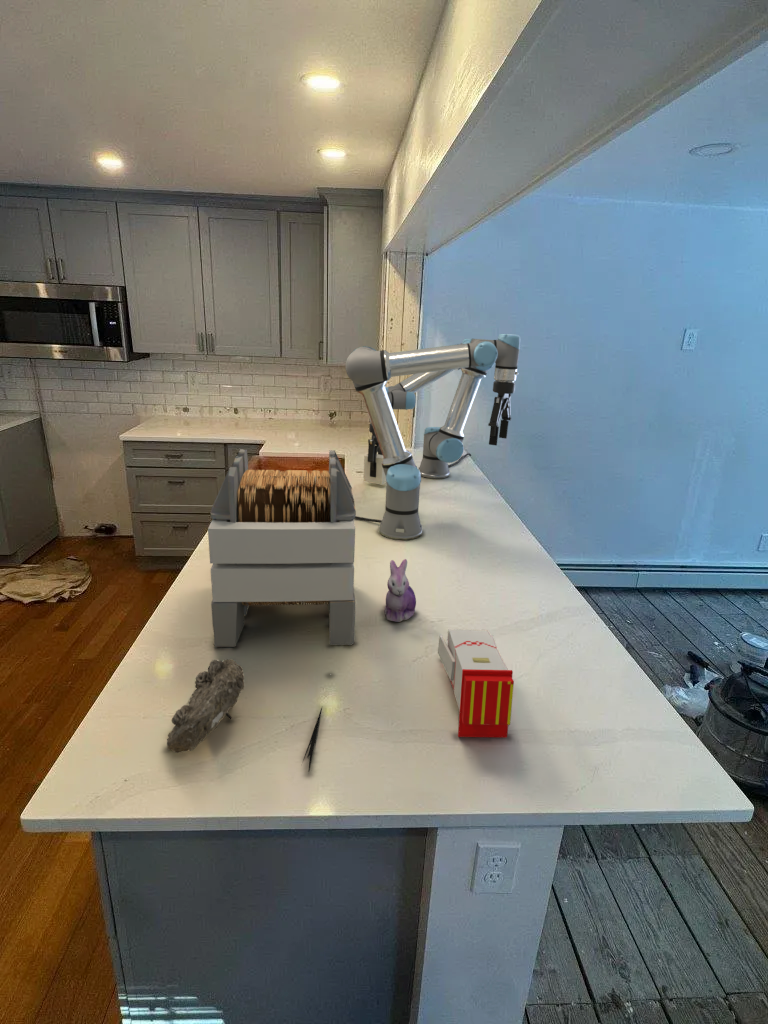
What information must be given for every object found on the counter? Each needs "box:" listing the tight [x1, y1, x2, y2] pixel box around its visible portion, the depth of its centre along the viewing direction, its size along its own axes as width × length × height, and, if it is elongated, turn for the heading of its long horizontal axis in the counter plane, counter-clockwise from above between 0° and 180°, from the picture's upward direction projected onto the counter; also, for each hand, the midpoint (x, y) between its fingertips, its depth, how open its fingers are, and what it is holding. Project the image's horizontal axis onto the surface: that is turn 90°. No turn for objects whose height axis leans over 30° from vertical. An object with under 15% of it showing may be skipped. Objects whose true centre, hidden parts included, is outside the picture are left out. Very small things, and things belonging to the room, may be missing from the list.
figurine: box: [384, 558, 417, 623], centre depth 145 cm, size 9×10×15 cm
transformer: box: [207, 448, 357, 649], centre depth 139 cm, size 34×33×41 cm
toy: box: [437, 628, 515, 738], centre depth 117 cm, size 12×13×30 cm
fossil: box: [166, 658, 245, 754], centre depth 106 cm, size 22×10×15 cm
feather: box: [301, 673, 332, 771], centre depth 108 cm, size 2×28×2 cm
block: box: [363, 453, 387, 485], centre depth 251 cm, size 9×6×12 cm, turn 64°
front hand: (497, 441), depth 203 cm, fingers open, 13 cm apart
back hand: (376, 474), depth 252 cm, fingers closed on block, 6 cm apart
